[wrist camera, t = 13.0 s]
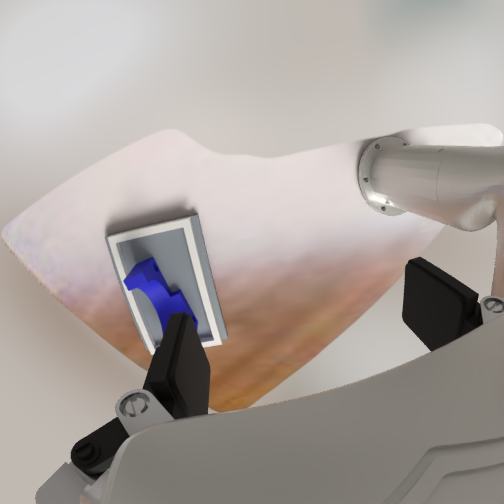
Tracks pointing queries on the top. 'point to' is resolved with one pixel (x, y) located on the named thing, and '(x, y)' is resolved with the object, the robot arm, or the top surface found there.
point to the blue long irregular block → (158, 291)
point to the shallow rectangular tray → (170, 276)
